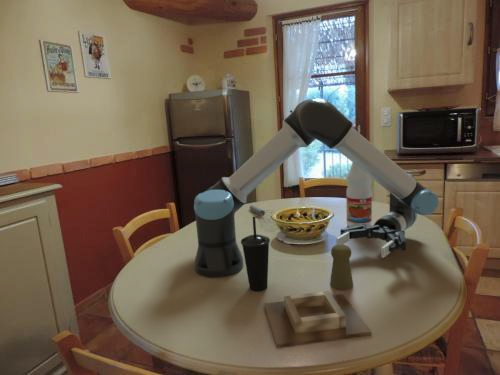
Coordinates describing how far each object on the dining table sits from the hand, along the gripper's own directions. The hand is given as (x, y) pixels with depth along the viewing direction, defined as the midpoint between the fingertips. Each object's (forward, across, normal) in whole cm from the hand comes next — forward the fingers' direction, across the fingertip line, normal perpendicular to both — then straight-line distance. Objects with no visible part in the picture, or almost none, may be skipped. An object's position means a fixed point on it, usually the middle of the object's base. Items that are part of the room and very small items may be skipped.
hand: (358, 247), depth 102 cm
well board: (+28, -3, -7) cm, 29 cm away
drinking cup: (+24, +17, -7) cm, 31 cm away
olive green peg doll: (+10, 0, -8) cm, 12 cm away
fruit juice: (-37, +18, -8) cm, 42 cm away
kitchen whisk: (-24, +58, -8) cm, 64 cm away
